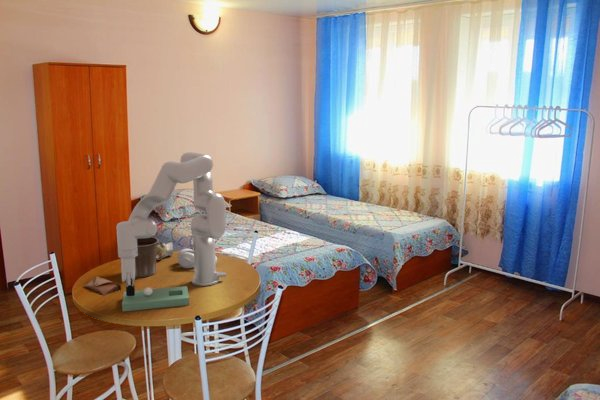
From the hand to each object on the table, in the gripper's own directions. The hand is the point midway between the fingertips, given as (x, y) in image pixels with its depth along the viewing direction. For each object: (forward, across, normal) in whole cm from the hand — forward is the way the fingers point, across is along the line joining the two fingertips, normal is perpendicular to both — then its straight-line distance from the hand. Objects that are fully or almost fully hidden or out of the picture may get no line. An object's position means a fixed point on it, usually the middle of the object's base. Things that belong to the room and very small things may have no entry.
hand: (130, 295), depth 214 cm
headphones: (+4, -45, +30) cm, 55 cm away
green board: (+4, 0, +10) cm, 11 cm away
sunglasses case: (+4, -22, -14) cm, 26 cm away
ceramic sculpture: (+4, -61, +13) cm, 63 cm away
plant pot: (+4, -38, +4) cm, 38 cm away
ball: (-1, 0, +7) cm, 7 cm away
